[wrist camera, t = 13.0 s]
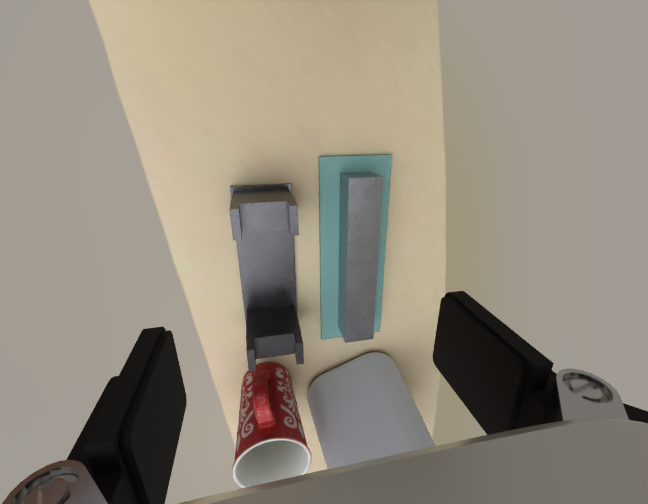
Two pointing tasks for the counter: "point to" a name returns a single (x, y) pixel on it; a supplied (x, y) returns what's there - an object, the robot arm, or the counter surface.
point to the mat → (330, 232)
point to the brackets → (267, 268)
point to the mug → (269, 429)
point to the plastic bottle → (365, 412)
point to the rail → (358, 253)
